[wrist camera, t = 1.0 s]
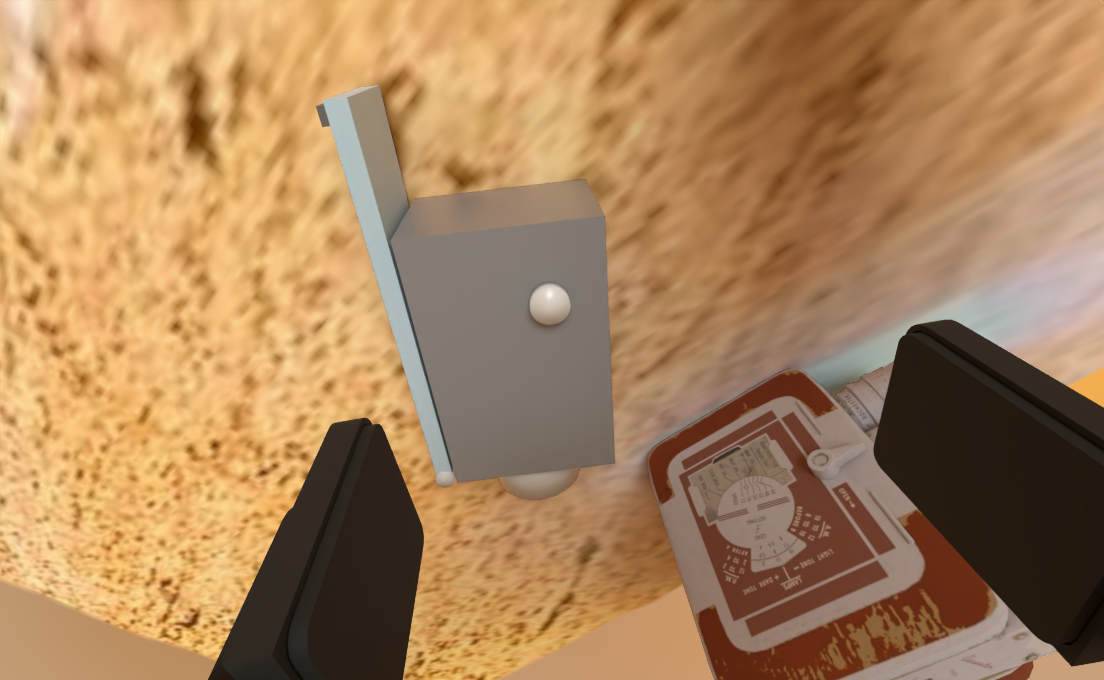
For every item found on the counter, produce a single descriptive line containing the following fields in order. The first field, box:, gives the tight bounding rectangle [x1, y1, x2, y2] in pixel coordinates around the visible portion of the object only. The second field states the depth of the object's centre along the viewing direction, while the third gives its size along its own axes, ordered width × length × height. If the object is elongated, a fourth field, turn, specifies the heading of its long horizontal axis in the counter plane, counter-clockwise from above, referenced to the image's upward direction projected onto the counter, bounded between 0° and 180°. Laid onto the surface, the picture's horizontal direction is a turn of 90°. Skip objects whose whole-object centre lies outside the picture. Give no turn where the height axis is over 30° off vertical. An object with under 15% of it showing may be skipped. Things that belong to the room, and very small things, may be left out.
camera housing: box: [390, 179, 615, 500], centre depth 31 cm, size 20×10×8 cm, turn 5°
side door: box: [316, 85, 455, 487], centre depth 29 cm, size 23×2×6 cm, turn 5°
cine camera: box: [648, 362, 1057, 680], centre depth 31 cm, size 9×19×20 cm, turn 128°
